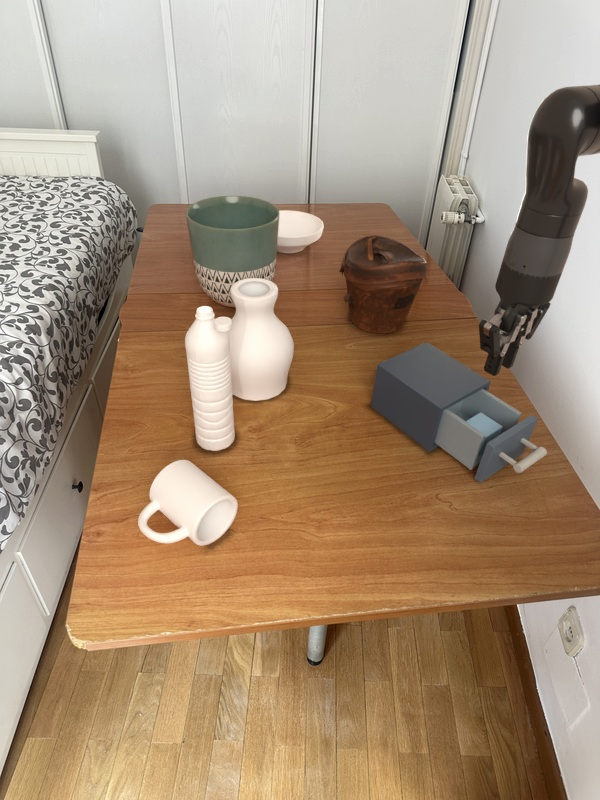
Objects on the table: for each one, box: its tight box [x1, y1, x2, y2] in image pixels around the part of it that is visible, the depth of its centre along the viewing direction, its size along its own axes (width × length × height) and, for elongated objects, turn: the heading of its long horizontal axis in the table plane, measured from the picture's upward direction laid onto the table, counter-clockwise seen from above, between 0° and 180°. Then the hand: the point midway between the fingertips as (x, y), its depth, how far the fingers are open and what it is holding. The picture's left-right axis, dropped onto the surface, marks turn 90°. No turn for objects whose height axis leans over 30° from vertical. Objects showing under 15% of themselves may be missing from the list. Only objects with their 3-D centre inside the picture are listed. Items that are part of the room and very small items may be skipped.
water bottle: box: [184, 305, 236, 452], centre depth 83 cm, size 9×6×25 cm
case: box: [338, 234, 429, 334], centre depth 118 cm, size 18×20×18 cm
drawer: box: [435, 389, 548, 484], centre depth 88 cm, size 18×11×8 cm, turn 37°
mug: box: [137, 459, 239, 547], centre depth 74 cm, size 12×10×8 cm
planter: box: [185, 195, 280, 308], centre depth 121 cm, size 20×20×21 cm
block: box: [466, 412, 503, 457], centre depth 88 cm, size 4×4×4 cm
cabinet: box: [370, 341, 492, 453], centre depth 95 cm, size 15×13×10 cm
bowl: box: [277, 209, 325, 254], centre depth 151 cm, size 20×20×7 cm
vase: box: [225, 278, 295, 402], centre depth 98 cm, size 14×14×20 cm
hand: (497, 368), depth 81 cm, fingers closed
